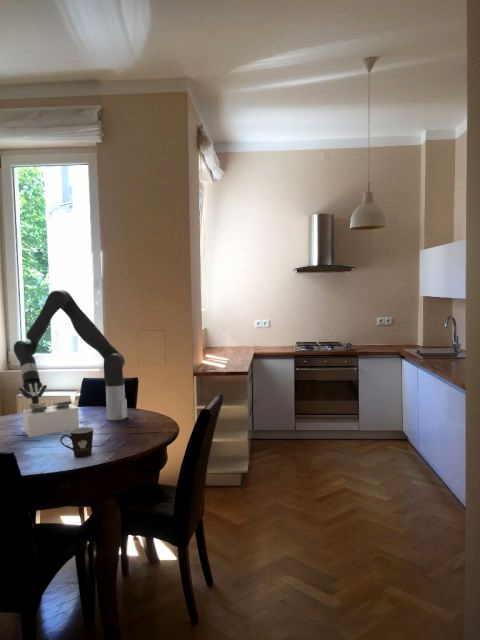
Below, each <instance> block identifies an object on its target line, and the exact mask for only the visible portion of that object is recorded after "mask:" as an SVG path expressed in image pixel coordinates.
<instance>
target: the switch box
mask: <svg viewBox="0 0 480 640" xmlns="http://www.w3.org/2000/svg"><path fill="white" fill-rule="evenodd" d="M22 419H23V422H22V423H23V432H24V433H25V435H26V436H27V435H28V436H27V437H28V438H34V437H38V436H44V435H50V434H55V433H61V432H62V433H63V432H66V431H71V430H73V429H76V428H80V424H79V421H80V420H79V407H78V406H77V405H74V404H73V403H71V404H69V405H62V406H54V405H51V406H47V409H46V410H39V411H32V410H31V409H30V408H29V409H23V410H22Z"/></svg>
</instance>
